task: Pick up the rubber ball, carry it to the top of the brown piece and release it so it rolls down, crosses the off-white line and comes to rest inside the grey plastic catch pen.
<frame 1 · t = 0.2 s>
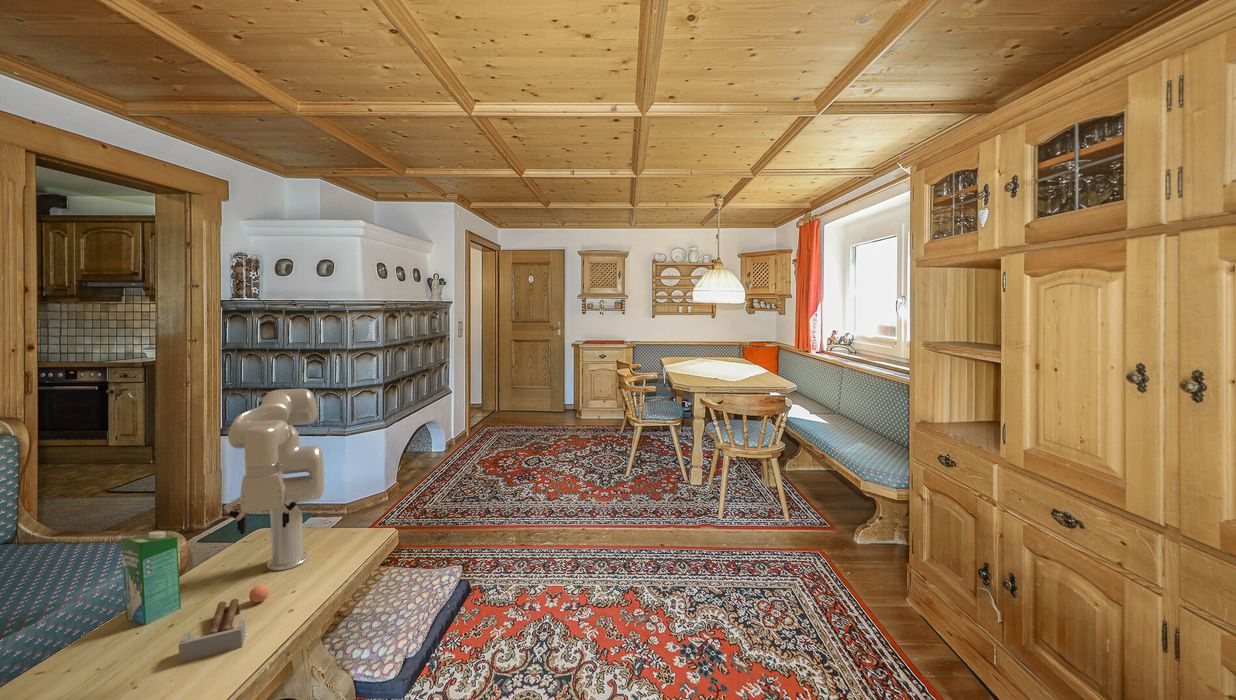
hand: (264, 529, 135), 31 cm above the table, fingers open, 9 cm apart
ball: (259, 593, 152), point 2 cm above the table
brown piece: (224, 623, 141), on the table
milk carton: (153, 614, 145), on the table
catch pen: (214, 648, 130), on the table
line: (216, 641, 133), on the table
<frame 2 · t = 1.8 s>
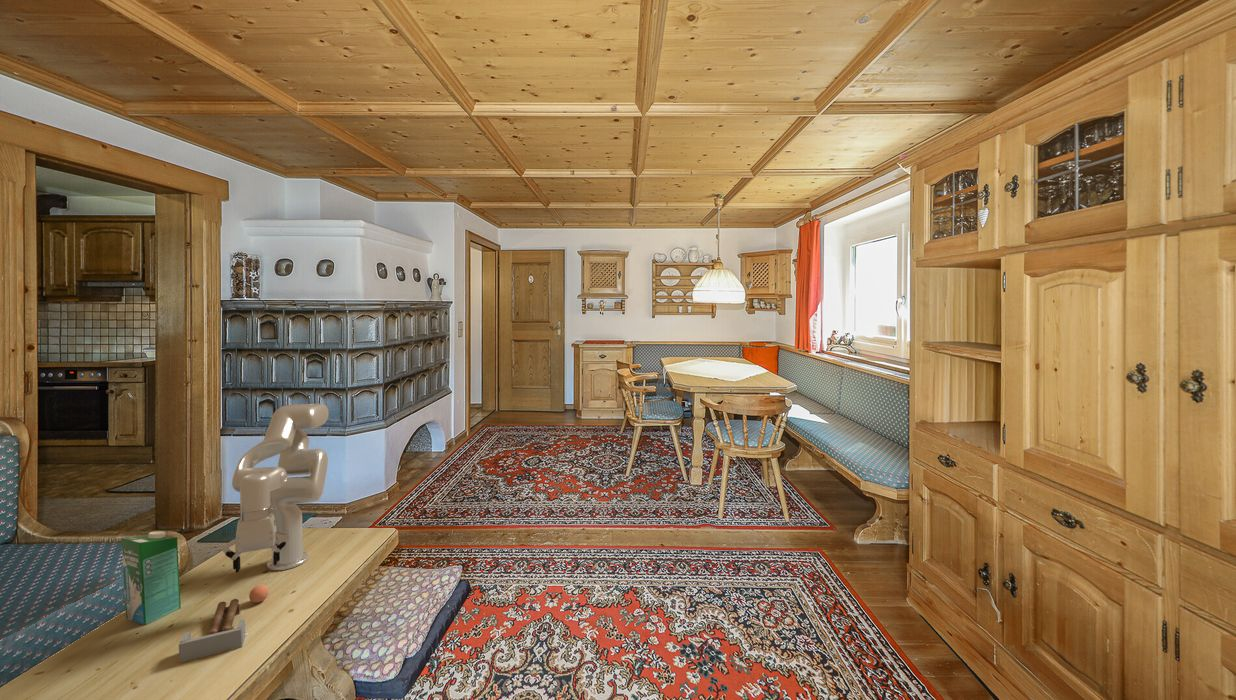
hand: (257, 566, 151), 12 cm above the table, fingers open, 9 cm apart
nothing on the table moved.
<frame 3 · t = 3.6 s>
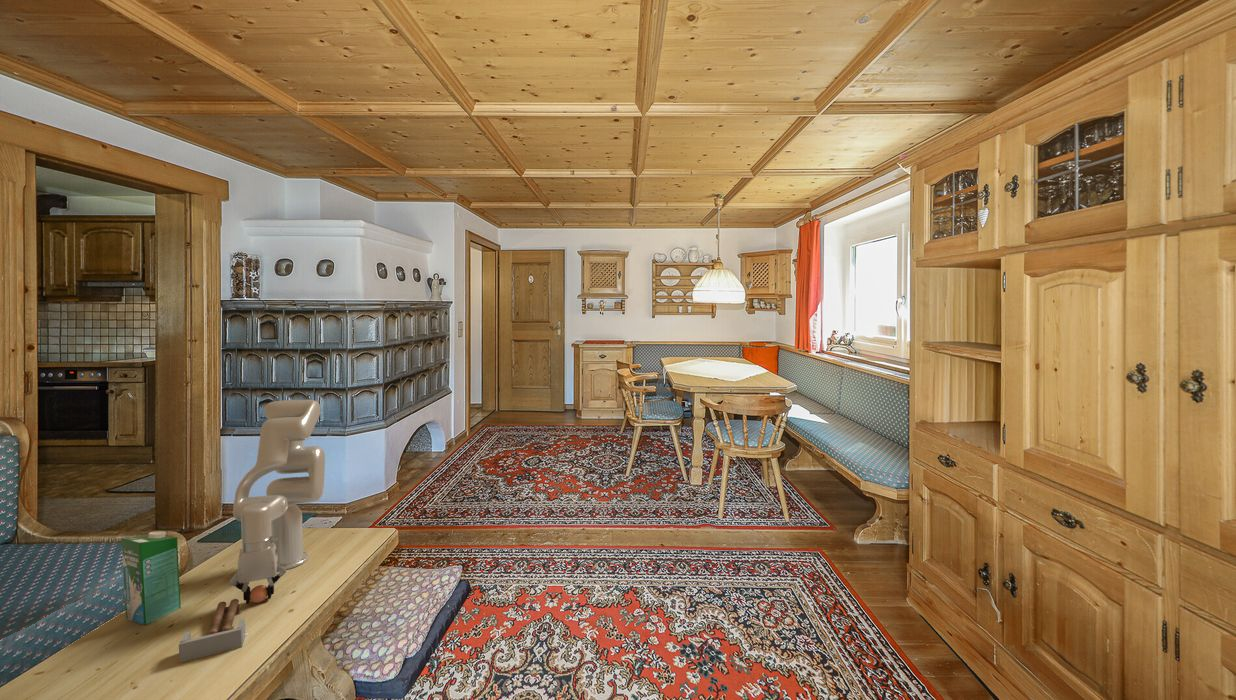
hand: (259, 598, 152), 1 cm above the table, fingers closed on ball, 4 cm apart
ball: (259, 593, 152), point 2 cm above the table, touching gripper
everything else where it was.
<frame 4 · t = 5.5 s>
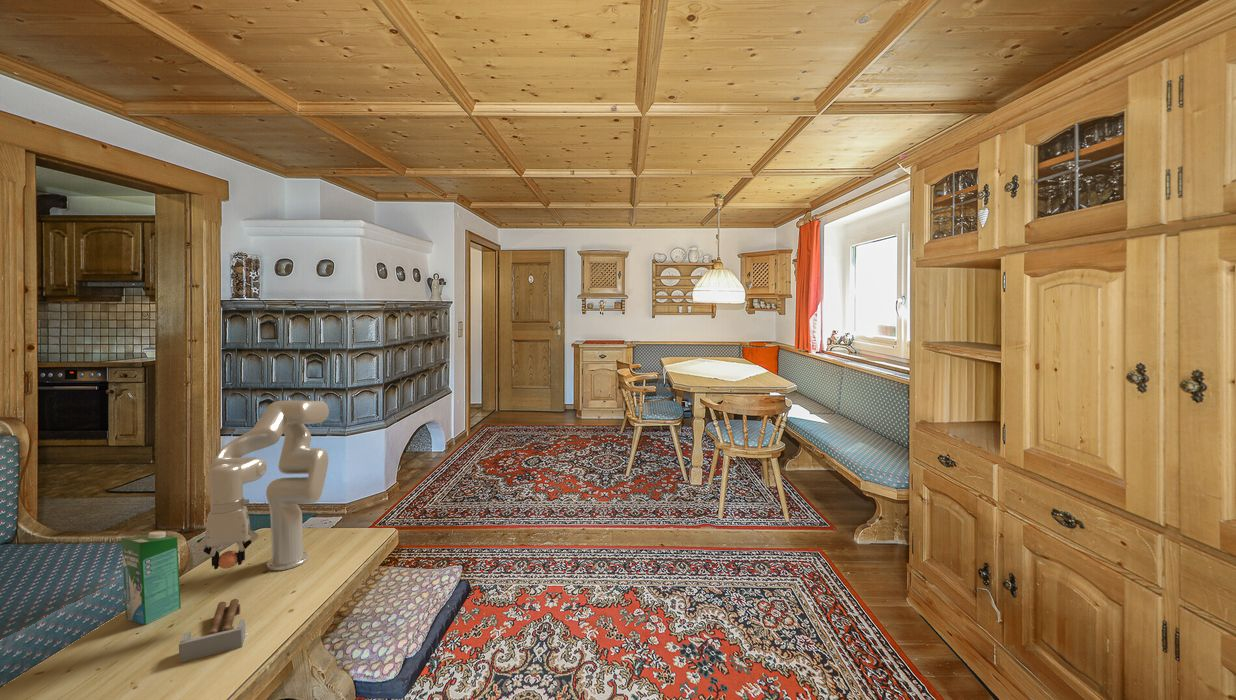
hand: (228, 564, 144), 16 cm above the table, fingers closed on ball, 4 cm apart
ball: (228, 559, 144), point 18 cm above the table, touching gripper
everything else where it was.
when the fingers open (6 cm above the table, at t = 7.4 s): ball drops 5 cm and tips over, point 2 cm above the table.
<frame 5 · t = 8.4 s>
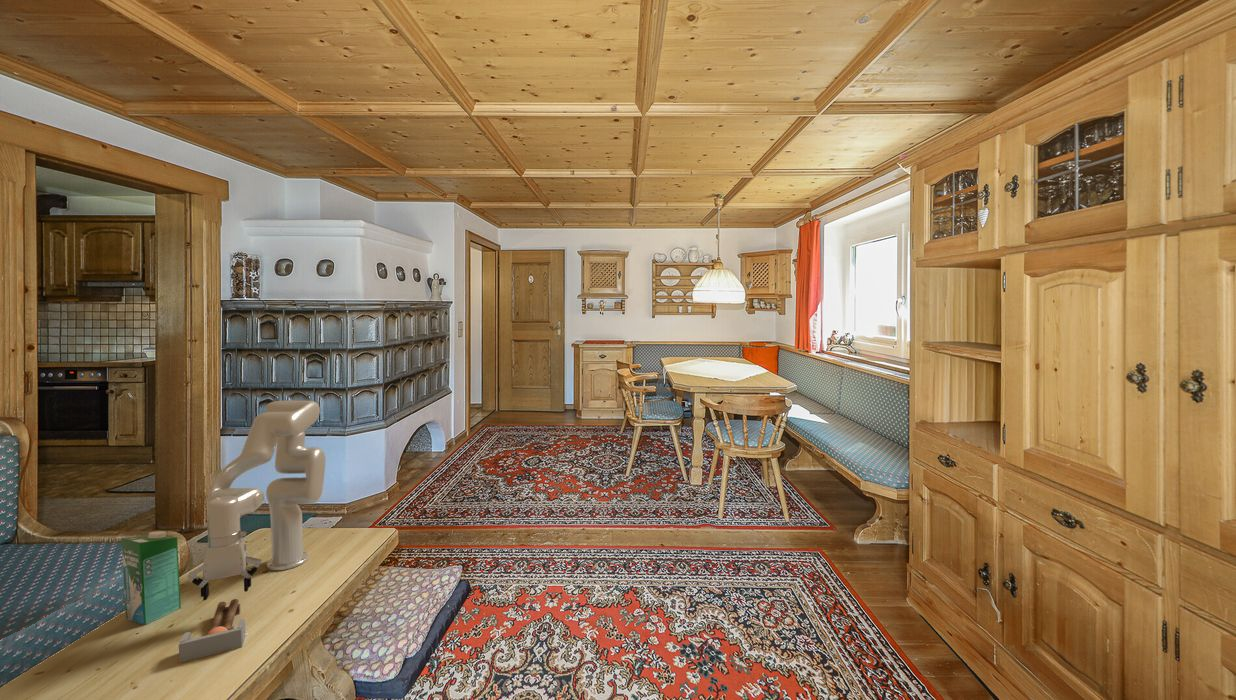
hand: (226, 593, 144), 7 cm above the table, fingers open, 9 cm apart
ball: (217, 636, 131), point 2 cm above the table, tilted 33°
everything else where it was.
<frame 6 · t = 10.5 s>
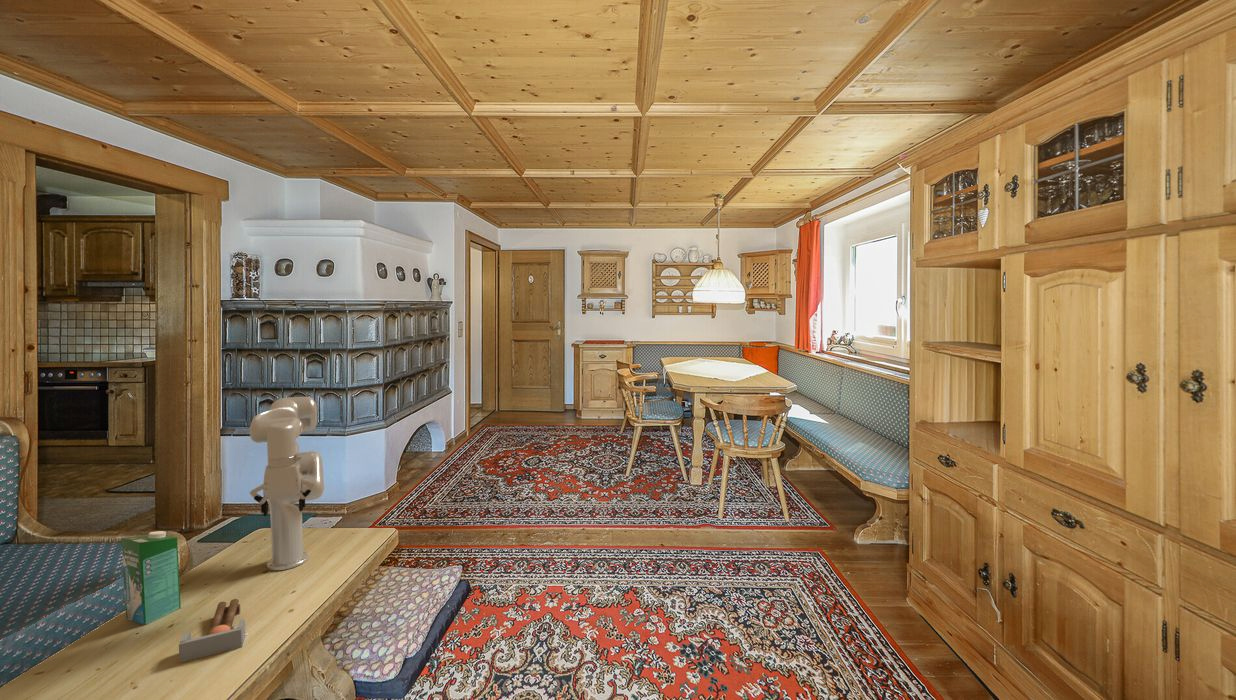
hand: (283, 512, 156), 27 cm above the table, fingers open, 9 cm apart
ball: (219, 635, 132), point 2 cm above the table, tilted 49°
everything else where it was.
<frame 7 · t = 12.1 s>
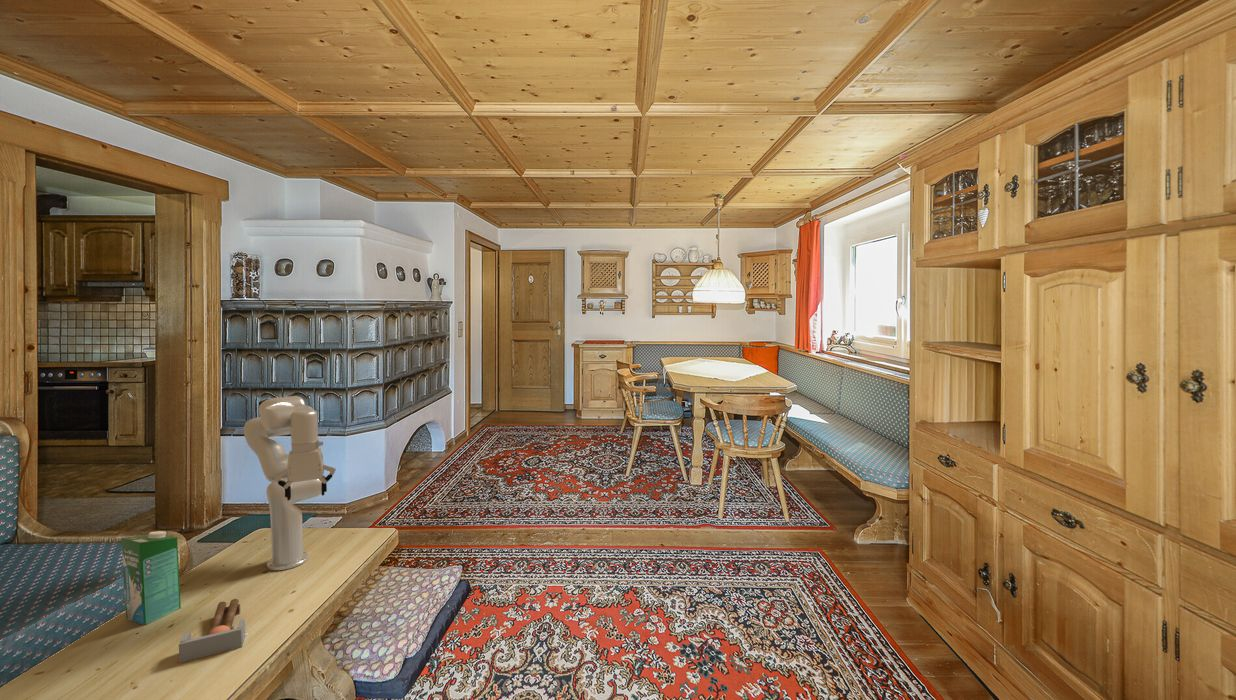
hand: (306, 496, 161), 30 cm above the table, fingers open, 9 cm apart
ball: (219, 635, 132), point 2 cm above the table, tilted 43°
everything else where it was.
at the end: ball inside the target area (1.4 cm from its centre), point 2.5 cm above the table; the gripper is holding nothing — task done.
